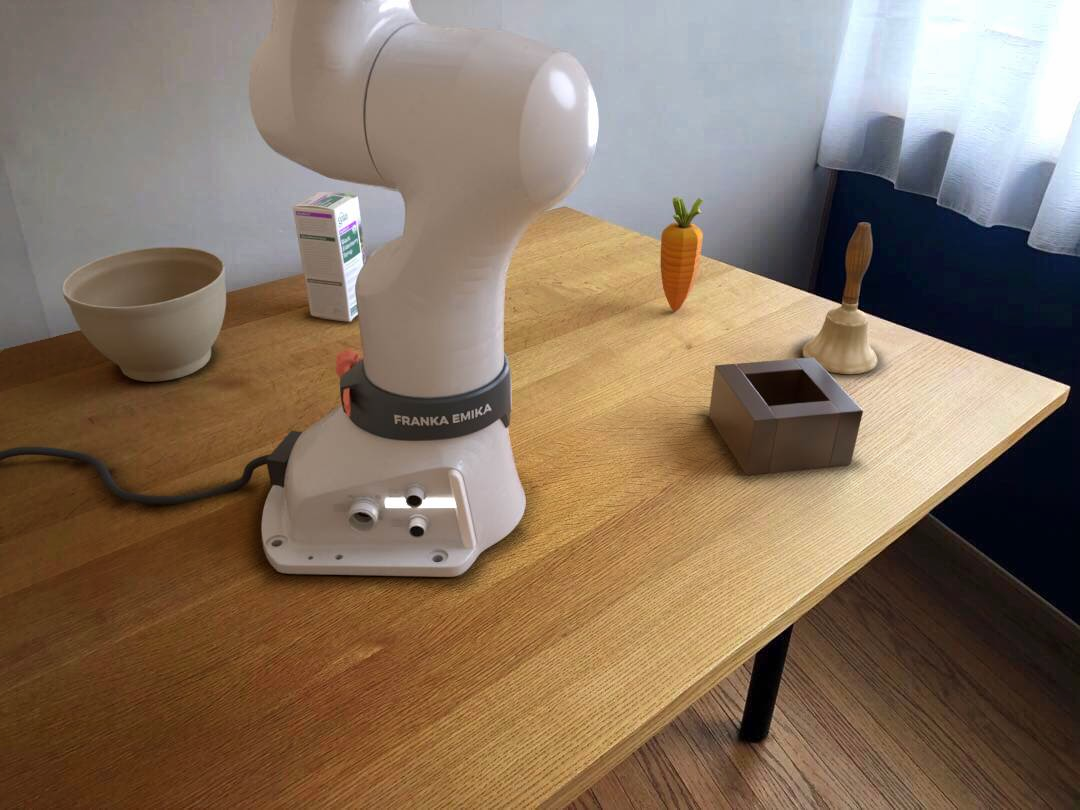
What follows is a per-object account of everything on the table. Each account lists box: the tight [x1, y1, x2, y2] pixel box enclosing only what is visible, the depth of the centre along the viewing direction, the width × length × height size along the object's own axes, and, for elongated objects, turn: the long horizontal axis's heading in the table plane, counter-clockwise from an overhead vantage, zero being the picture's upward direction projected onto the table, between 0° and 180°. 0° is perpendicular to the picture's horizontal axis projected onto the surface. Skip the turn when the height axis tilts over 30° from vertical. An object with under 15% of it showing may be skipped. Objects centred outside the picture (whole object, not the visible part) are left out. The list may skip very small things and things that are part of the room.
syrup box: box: [292, 191, 367, 323], centre depth 106 cm, size 6×6×14 cm
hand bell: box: [802, 221, 878, 375], centre depth 95 cm, size 8×8×16 cm
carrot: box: [659, 196, 704, 312], centre depth 106 cm, size 5×5×15 cm
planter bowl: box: [61, 246, 227, 383], centre depth 95 cm, size 16×16×11 cm
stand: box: [708, 357, 864, 476], centre depth 83 cm, size 10×10×6 cm
